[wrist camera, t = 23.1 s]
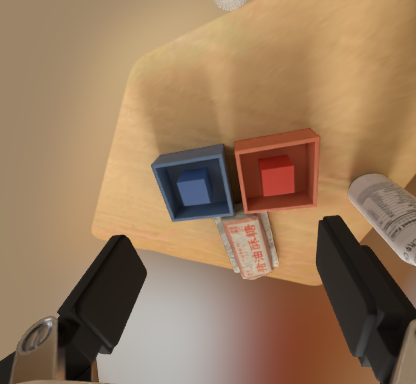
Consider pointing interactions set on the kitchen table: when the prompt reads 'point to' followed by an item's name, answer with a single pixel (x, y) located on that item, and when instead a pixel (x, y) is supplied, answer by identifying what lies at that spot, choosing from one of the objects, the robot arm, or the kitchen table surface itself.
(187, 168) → the blue bin
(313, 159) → the terracotta bin
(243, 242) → the packaged product
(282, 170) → the red block
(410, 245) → the energy drink can
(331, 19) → the kitchen table surface
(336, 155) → the kitchen table surface
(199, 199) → the blue block
